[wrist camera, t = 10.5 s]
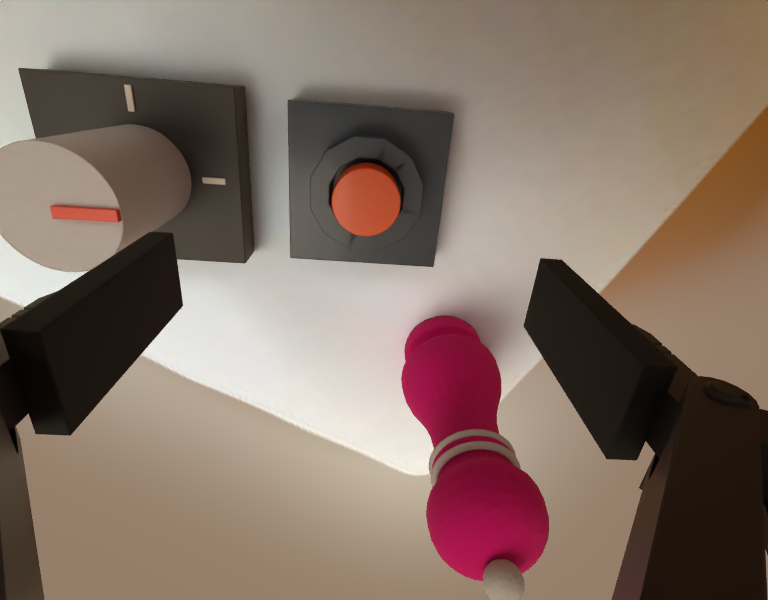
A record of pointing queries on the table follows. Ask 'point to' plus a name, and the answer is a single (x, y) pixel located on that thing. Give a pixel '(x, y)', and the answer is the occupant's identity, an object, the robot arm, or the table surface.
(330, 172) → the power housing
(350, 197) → the power button
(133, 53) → the table surface
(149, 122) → the panel
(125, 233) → the timer dial
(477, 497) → the pepper mill
